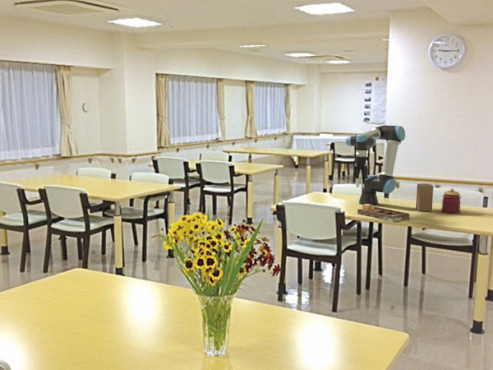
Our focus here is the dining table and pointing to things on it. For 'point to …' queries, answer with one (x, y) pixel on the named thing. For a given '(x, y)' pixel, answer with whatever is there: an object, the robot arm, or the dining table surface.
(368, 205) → the terracotta cube
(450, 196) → the canister
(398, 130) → the robot arm
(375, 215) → the trap tray
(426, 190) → the block
